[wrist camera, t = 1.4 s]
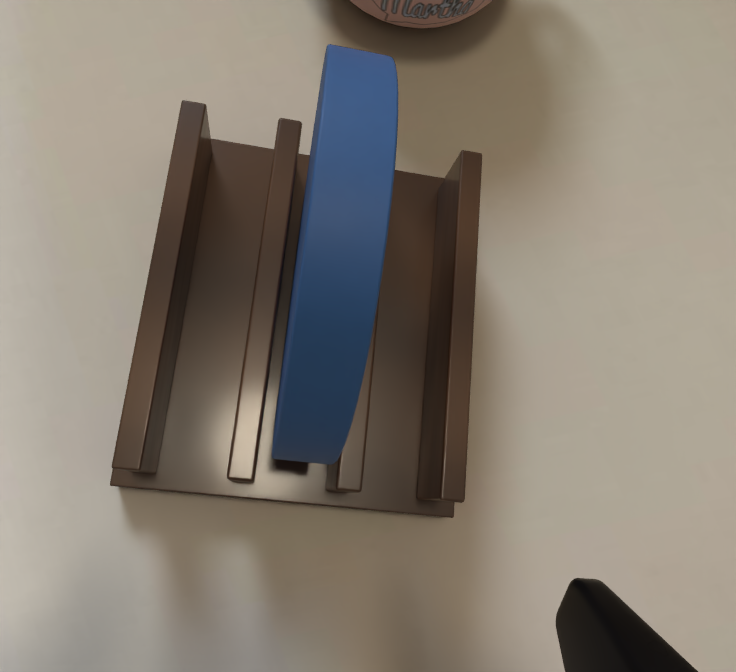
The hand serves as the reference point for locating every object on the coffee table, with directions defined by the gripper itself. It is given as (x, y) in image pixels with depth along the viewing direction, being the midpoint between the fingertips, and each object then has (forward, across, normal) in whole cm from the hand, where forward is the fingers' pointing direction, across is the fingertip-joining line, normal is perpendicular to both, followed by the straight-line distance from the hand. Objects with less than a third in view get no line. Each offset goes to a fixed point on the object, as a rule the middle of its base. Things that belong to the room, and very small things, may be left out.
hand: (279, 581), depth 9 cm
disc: (+14, -1, +2) cm, 14 cm away
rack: (+15, -1, +3) cm, 15 cm away
